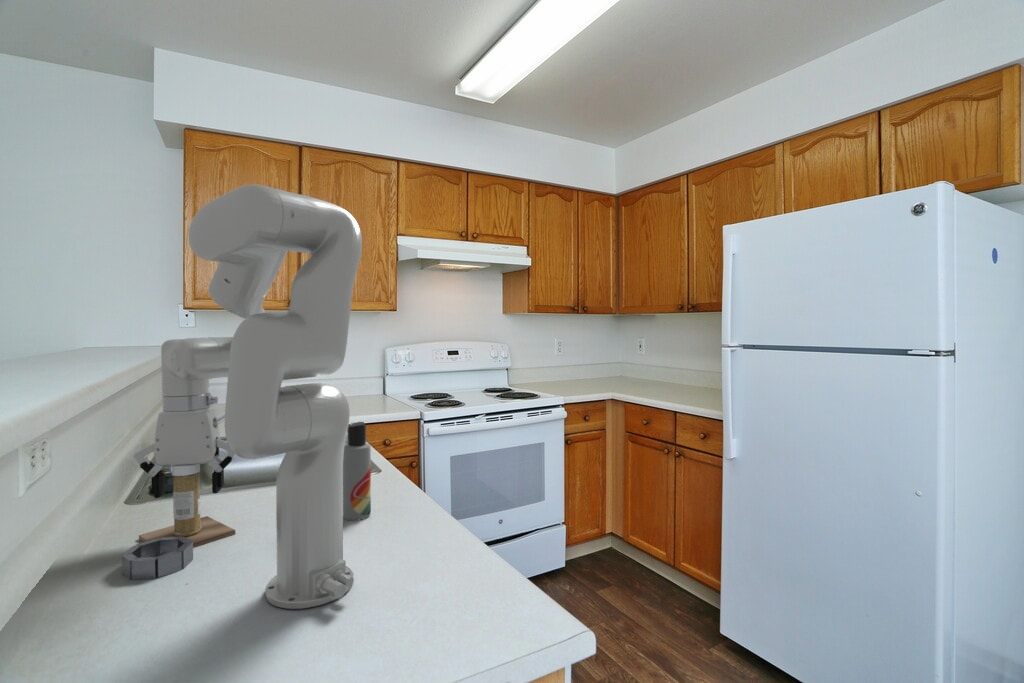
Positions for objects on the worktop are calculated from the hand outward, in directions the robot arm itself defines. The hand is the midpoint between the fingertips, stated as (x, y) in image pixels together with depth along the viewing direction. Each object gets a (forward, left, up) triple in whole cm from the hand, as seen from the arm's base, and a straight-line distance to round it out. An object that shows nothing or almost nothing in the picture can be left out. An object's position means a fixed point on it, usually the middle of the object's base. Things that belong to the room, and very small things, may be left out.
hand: (188, 493), depth 97 cm
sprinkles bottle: (0, 0, -8) cm, 8 cm away
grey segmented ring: (-8, +8, -8) cm, 14 cm away
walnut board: (+1, 0, -8) cm, 8 cm away
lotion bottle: (-16, -26, -9) cm, 32 cm away
